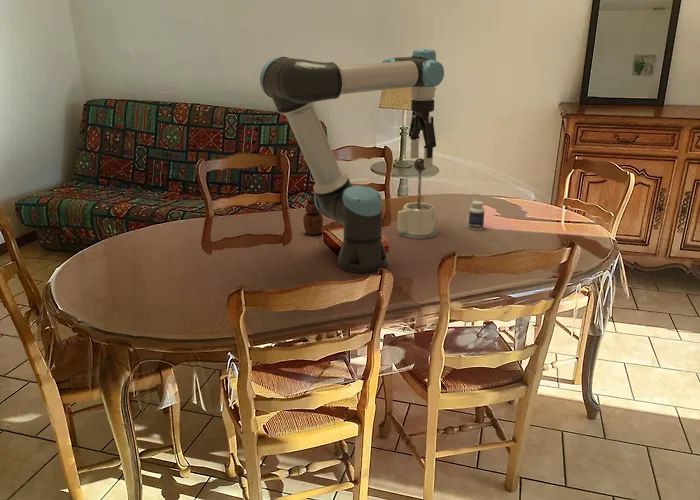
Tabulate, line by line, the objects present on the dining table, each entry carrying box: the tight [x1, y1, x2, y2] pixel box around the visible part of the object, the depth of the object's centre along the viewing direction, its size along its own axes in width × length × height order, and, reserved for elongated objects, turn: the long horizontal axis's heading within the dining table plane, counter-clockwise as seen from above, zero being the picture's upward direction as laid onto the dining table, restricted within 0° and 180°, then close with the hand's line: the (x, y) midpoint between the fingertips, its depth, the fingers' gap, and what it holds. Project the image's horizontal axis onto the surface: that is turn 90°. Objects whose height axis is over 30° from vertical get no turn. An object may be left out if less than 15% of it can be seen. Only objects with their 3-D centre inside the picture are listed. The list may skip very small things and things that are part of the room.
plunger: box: [409, 157, 429, 211], centre depth 204 cm, size 7×7×18 cm
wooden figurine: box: [303, 193, 324, 236], centre depth 207 cm, size 7×6×15 cm
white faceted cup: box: [397, 201, 439, 240], centre depth 208 cm, size 15×14×10 cm
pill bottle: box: [467, 200, 485, 231], centre depth 212 cm, size 5×5×10 cm
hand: (421, 162), depth 201 cm, fingers open, 13 cm apart
